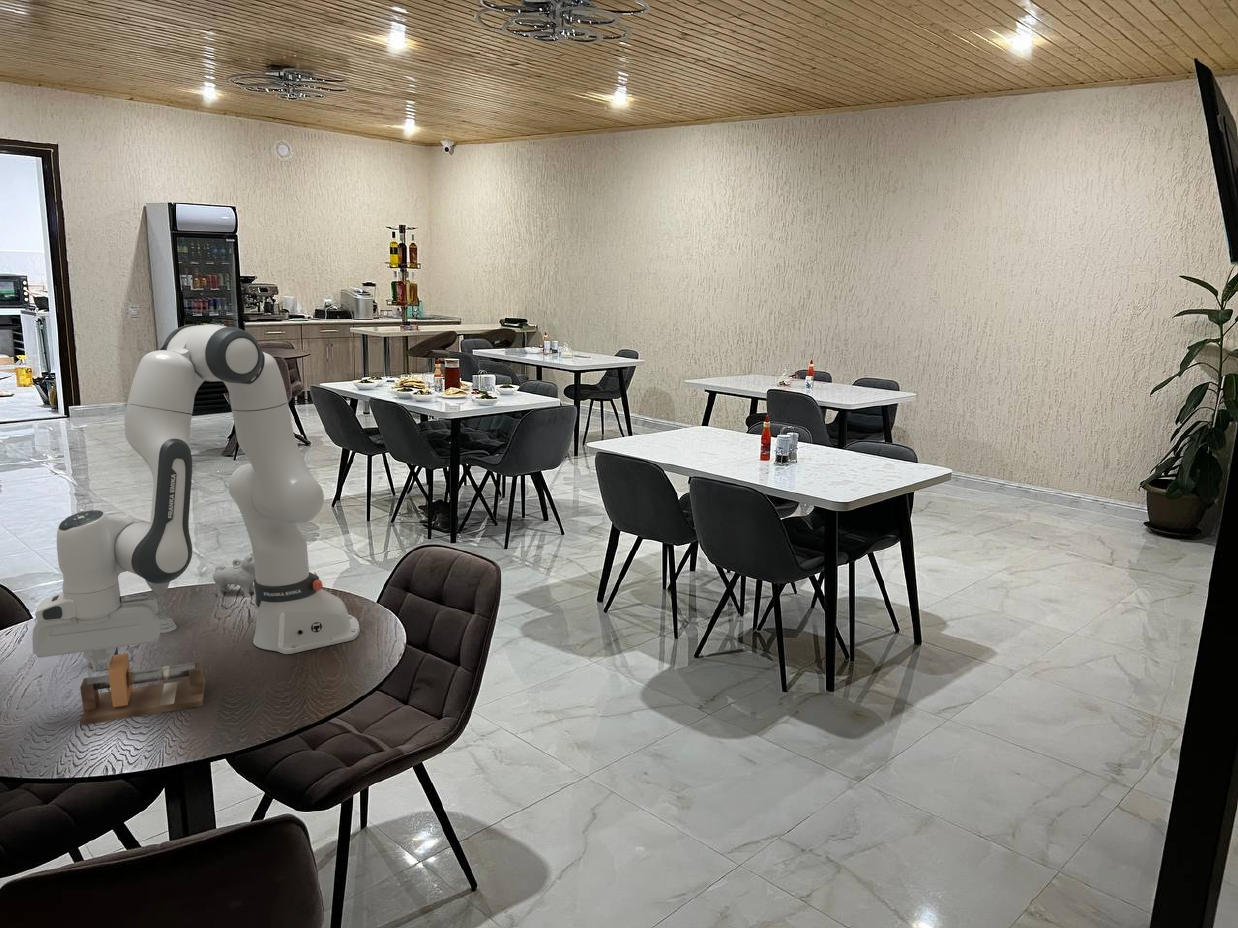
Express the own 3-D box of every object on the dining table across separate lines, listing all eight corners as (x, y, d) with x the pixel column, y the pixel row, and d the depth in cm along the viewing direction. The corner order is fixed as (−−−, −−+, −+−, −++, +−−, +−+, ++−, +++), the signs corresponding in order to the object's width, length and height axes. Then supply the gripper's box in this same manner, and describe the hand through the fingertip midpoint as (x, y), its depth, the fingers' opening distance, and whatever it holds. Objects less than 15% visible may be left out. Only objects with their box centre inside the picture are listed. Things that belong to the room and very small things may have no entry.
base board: (205, 682, 179) (202, 654, 178) (202, 705, 170) (199, 676, 168) (90, 700, 172) (86, 671, 170) (81, 725, 163) (77, 694, 161)
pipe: (196, 672, 174) (195, 659, 174) (195, 677, 172) (194, 665, 171) (90, 687, 168) (88, 674, 167) (88, 693, 165) (86, 680, 165)
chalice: (187, 627, 205) (179, 552, 201) (159, 637, 200) (150, 560, 195) (169, 619, 209) (160, 546, 205) (140, 629, 203) (131, 554, 199)
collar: (132, 687, 173) (128, 653, 171) (127, 704, 166) (122, 669, 165) (118, 689, 172) (113, 655, 170) (113, 707, 165) (108, 671, 164)
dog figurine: (264, 597, 223) (261, 557, 220) (212, 598, 222) (208, 557, 220) (271, 589, 228) (268, 550, 226) (220, 590, 228) (216, 550, 225)
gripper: (158, 586, 170) (166, 653, 173) (32, 601, 163) (44, 671, 166) (154, 598, 164) (163, 667, 168) (24, 614, 157) (36, 686, 160)
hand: (103, 669), depth 167 cm, fingers closed
